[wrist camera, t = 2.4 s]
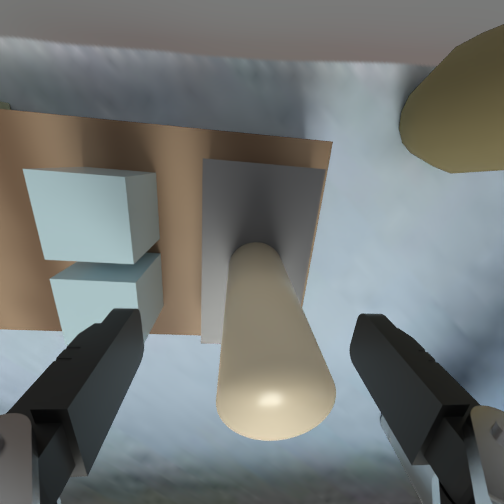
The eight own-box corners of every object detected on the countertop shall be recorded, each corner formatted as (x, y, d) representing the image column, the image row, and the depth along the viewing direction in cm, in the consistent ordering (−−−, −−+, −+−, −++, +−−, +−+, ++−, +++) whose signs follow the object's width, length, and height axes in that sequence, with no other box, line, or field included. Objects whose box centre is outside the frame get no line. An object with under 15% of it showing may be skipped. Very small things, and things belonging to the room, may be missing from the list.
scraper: (311, 167, 14) (480, 183, 4) (286, 322, 18) (343, 516, 8) (208, 158, 14) (130, 152, 4) (206, 319, 17) (164, 521, 8)
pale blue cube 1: (156, 172, 14) (124, 177, 10) (159, 238, 15) (133, 264, 11) (83, 166, 13) (22, 168, 10) (93, 234, 15) (44, 259, 11)
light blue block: (160, 253, 15) (135, 282, 12) (163, 305, 17) (142, 347, 13) (96, 249, 15) (49, 278, 11) (104, 303, 16) (65, 345, 13)
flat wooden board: (305, 147, 19) (332, 141, 14) (282, 297, 24) (296, 338, 18) (12, 119, 17) (-94, 99, 12) (53, 287, 22) (-9, 329, 17)
